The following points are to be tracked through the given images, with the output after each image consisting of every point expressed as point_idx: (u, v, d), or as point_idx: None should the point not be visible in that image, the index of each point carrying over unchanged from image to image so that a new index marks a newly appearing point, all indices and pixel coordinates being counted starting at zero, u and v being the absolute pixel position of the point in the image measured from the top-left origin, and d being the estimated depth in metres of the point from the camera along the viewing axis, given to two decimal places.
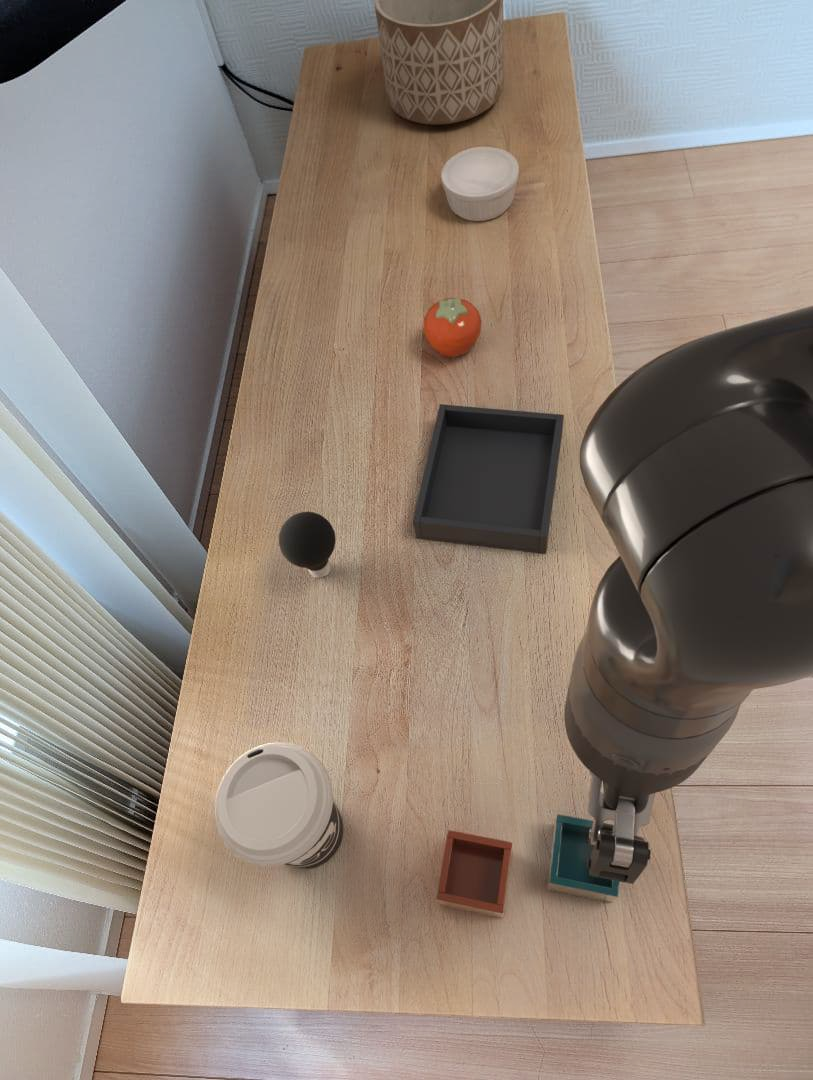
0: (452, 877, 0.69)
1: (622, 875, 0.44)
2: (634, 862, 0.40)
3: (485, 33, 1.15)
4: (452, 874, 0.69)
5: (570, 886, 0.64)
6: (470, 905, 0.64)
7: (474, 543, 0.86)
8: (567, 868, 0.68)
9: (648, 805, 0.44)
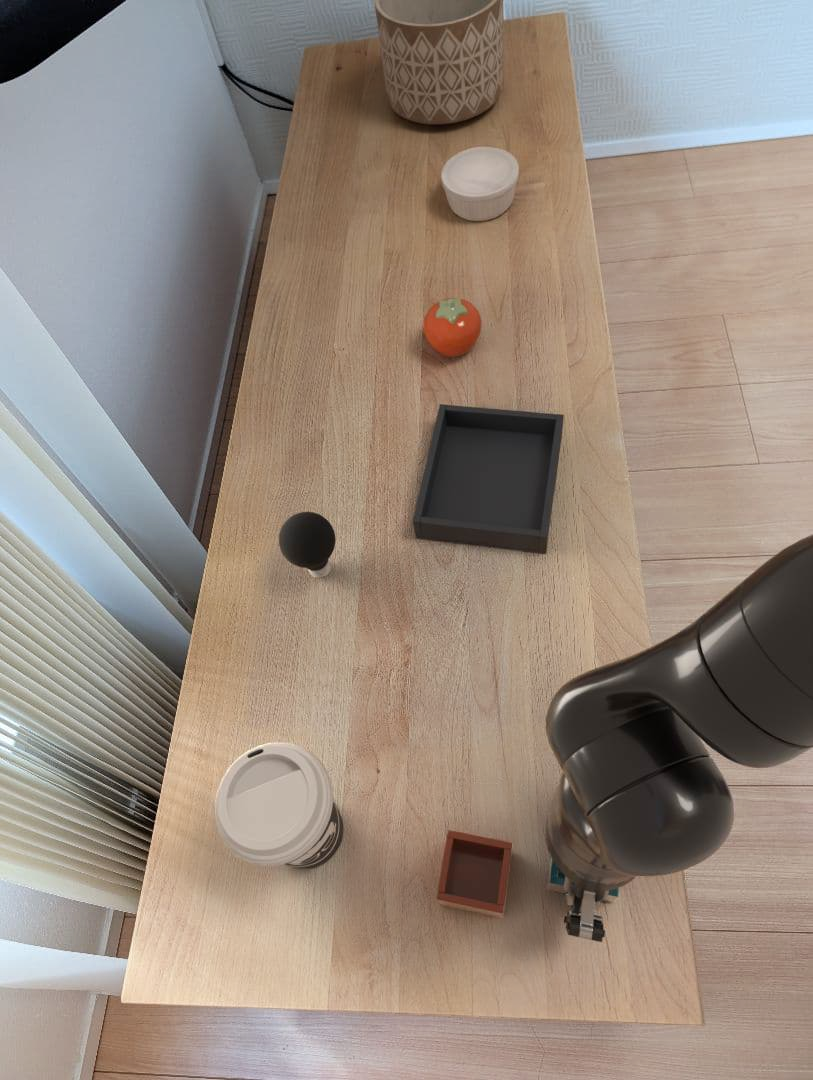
0: (452, 877, 0.69)
1: None
2: (593, 940, 0.57)
3: (485, 33, 1.15)
4: (452, 874, 0.69)
5: None
6: (470, 905, 0.64)
7: (474, 543, 0.86)
8: None
9: None
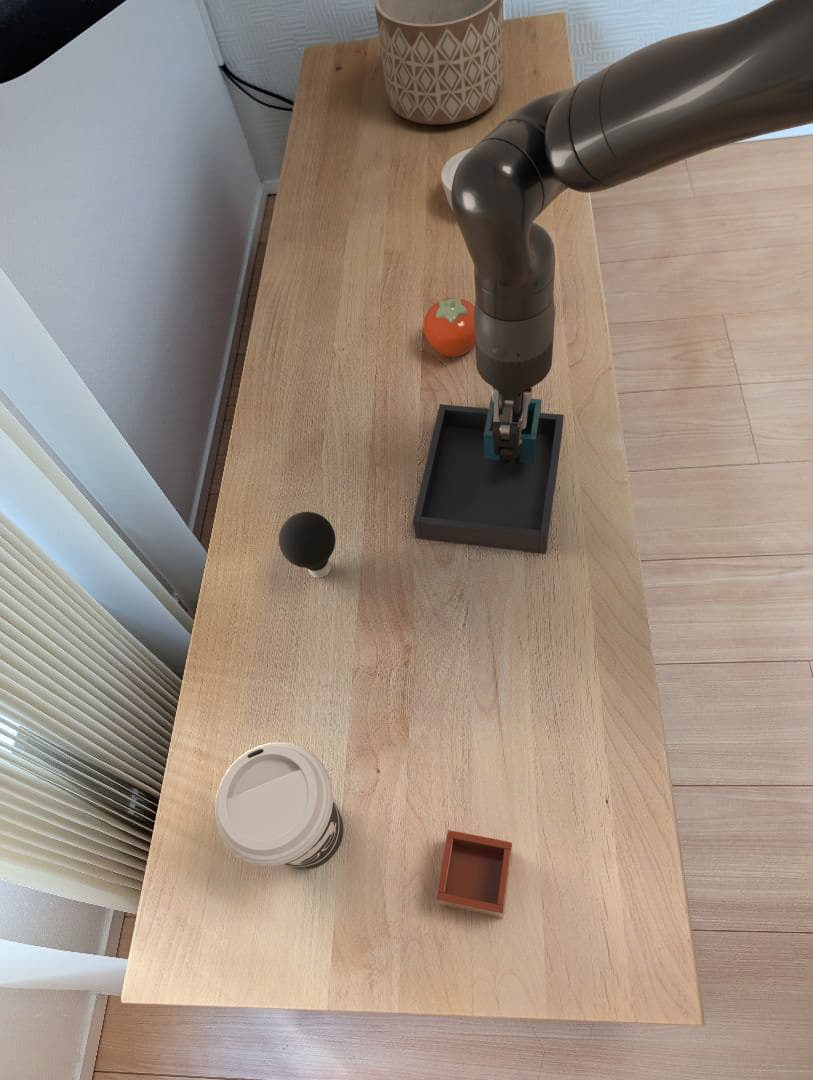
0: (452, 877, 0.69)
1: (511, 450, 0.81)
2: (510, 433, 0.77)
3: (485, 33, 1.15)
4: (452, 874, 0.69)
5: None
6: (470, 905, 0.64)
7: (474, 543, 0.86)
8: None
9: (524, 416, 0.81)
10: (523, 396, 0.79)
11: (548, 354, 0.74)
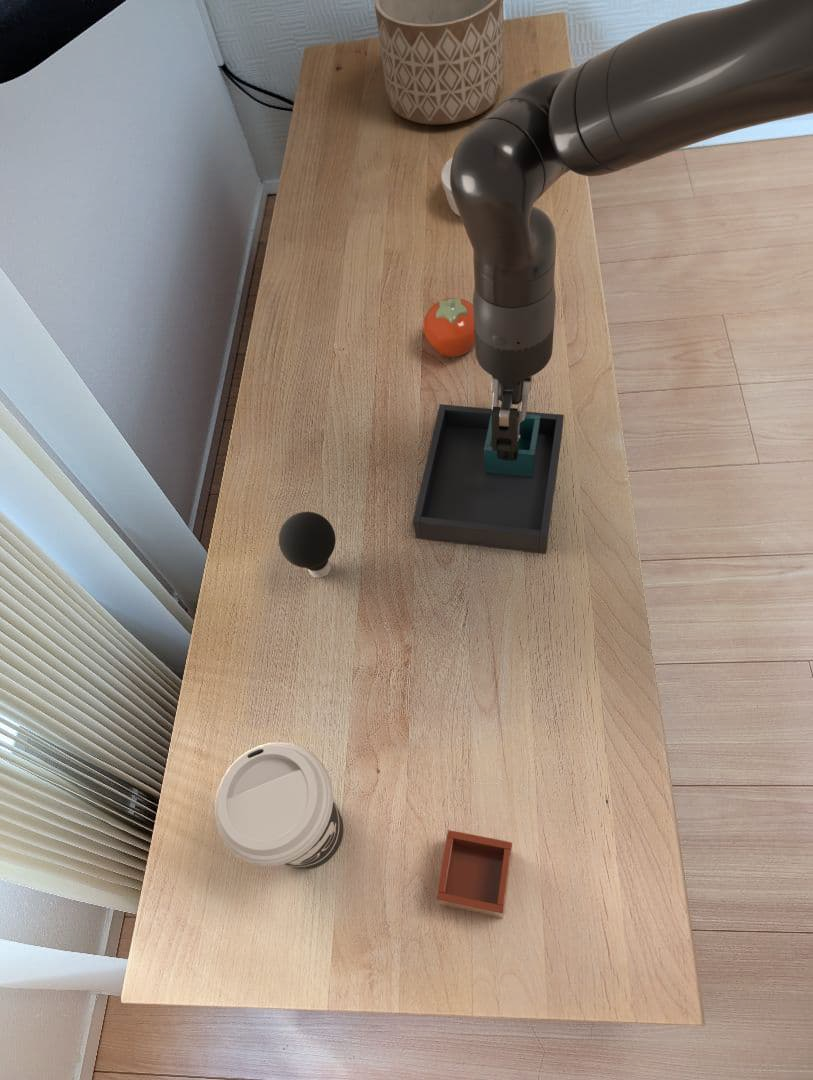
0: (452, 877, 0.69)
1: (509, 446, 0.79)
2: (510, 417, 0.75)
3: (485, 33, 1.15)
4: (452, 874, 0.69)
5: None
6: (470, 905, 0.64)
7: (474, 543, 0.86)
8: None
9: (523, 407, 0.79)
10: (523, 385, 0.78)
11: (548, 342, 0.73)
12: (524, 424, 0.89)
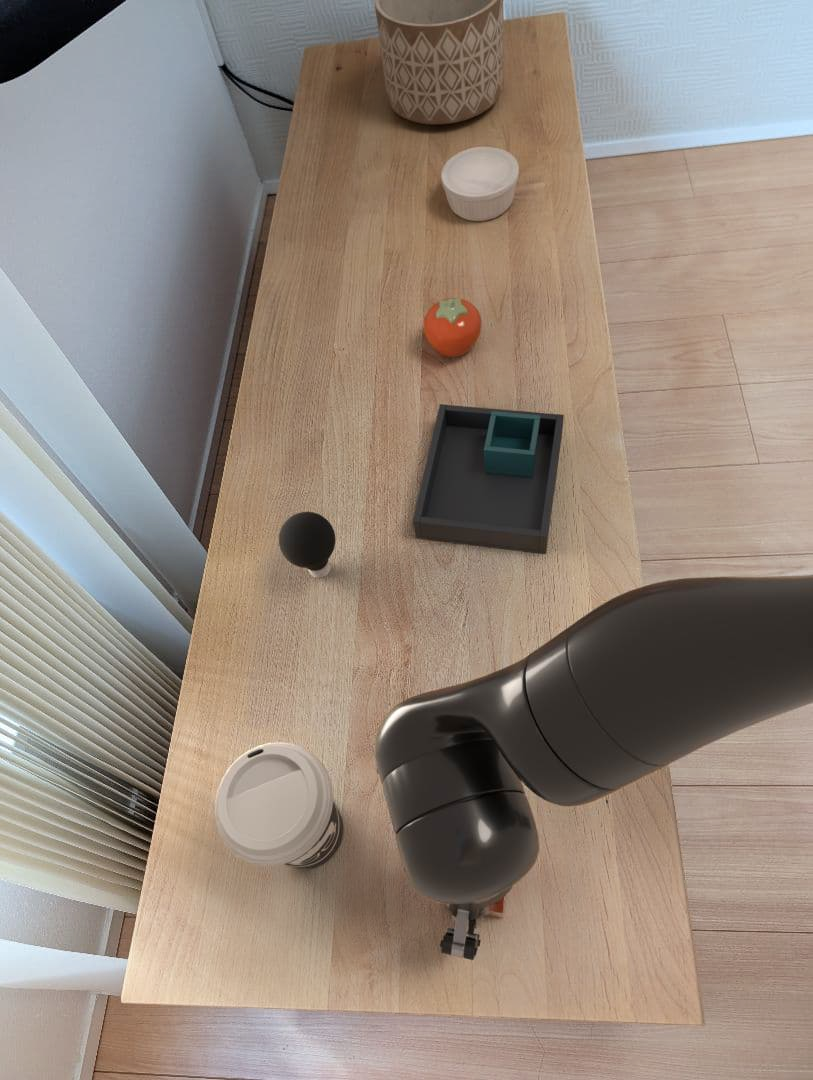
0: None
1: None
2: (465, 958, 0.57)
3: (485, 33, 1.15)
4: None
5: (499, 450, 0.87)
6: None
7: (474, 543, 0.86)
8: None
9: None
10: None
11: None
12: (524, 424, 0.89)
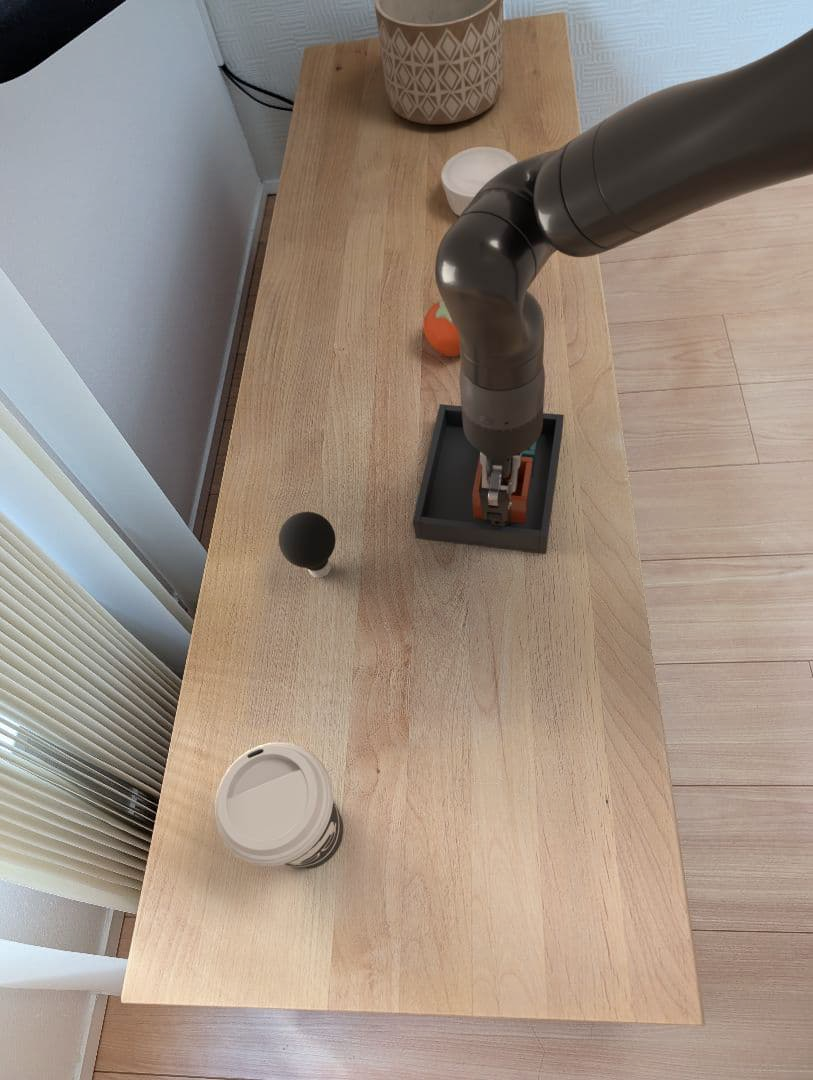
0: None
1: (500, 514, 0.77)
2: (499, 500, 0.73)
3: (485, 33, 1.15)
4: None
5: None
6: None
7: (474, 543, 0.86)
8: None
9: (514, 479, 0.77)
10: (512, 459, 0.75)
11: (538, 419, 0.70)
12: None
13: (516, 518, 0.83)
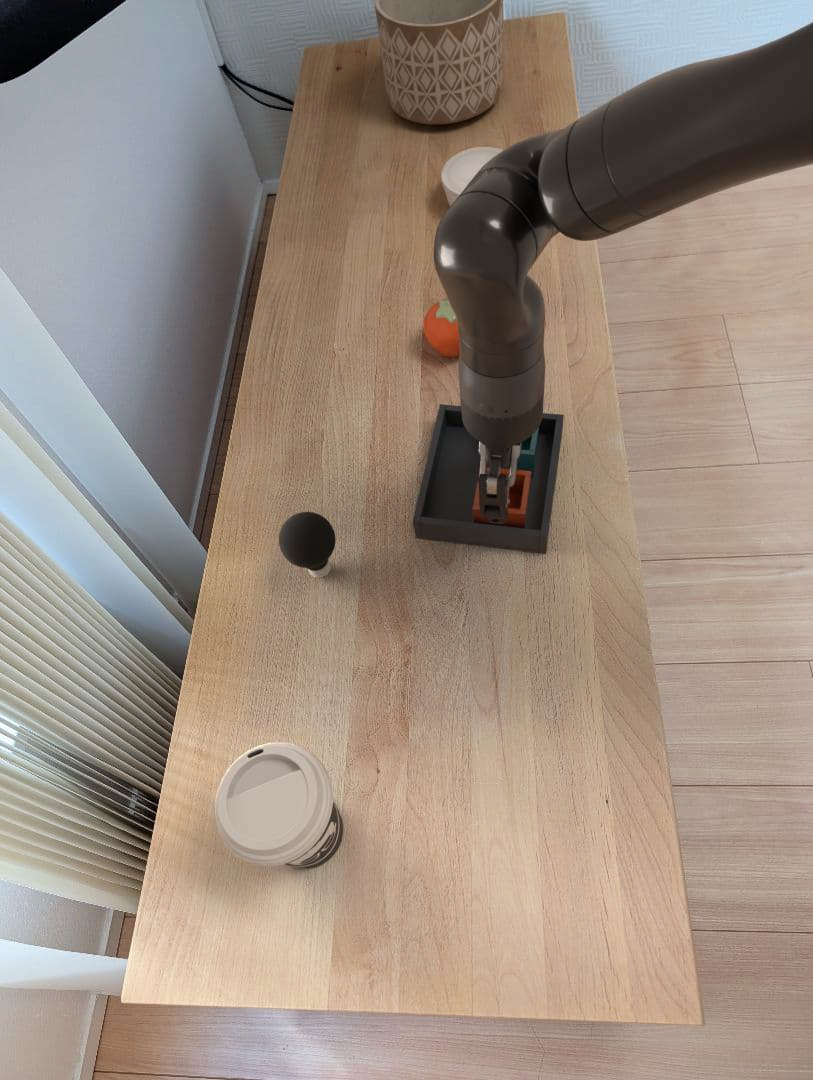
0: None
1: (498, 512, 0.75)
2: (498, 486, 0.71)
3: (485, 33, 1.15)
4: None
5: None
6: None
7: (474, 543, 0.86)
8: None
9: (513, 471, 0.75)
10: (512, 449, 0.74)
11: (538, 408, 0.69)
12: None
13: None
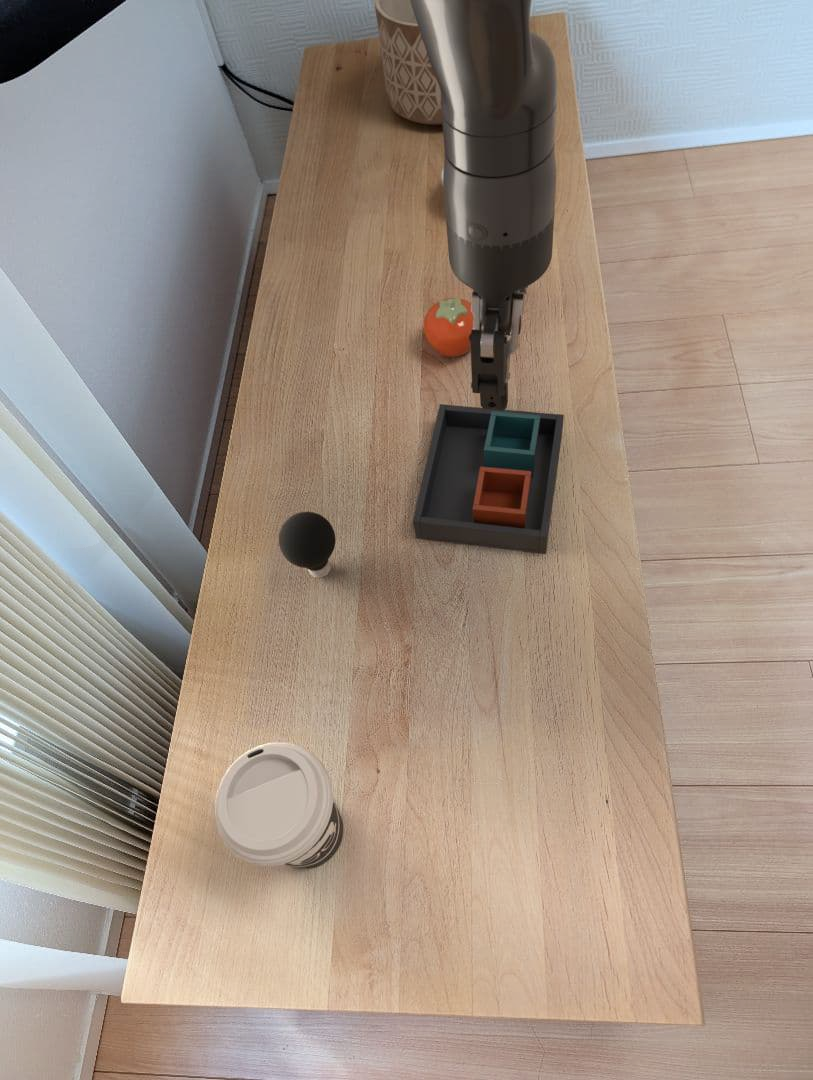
0: None
1: (495, 386, 0.59)
2: (495, 343, 0.56)
3: None
4: None
5: (499, 450, 0.87)
6: (499, 511, 0.83)
7: (474, 543, 0.86)
8: None
9: (514, 334, 0.59)
10: (513, 305, 0.59)
11: (547, 237, 0.53)
12: (524, 424, 0.89)
13: None
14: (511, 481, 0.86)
